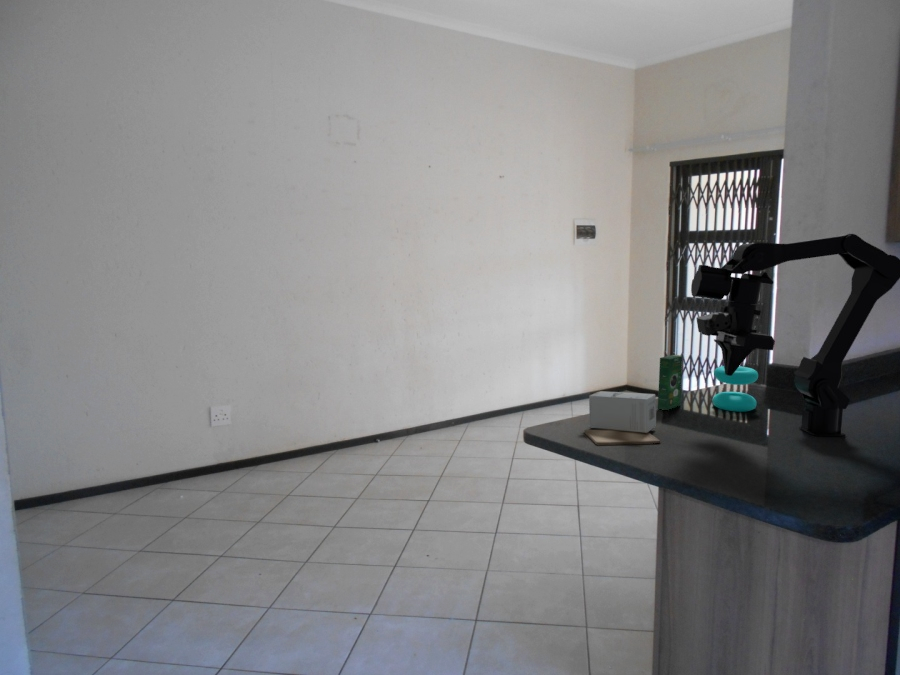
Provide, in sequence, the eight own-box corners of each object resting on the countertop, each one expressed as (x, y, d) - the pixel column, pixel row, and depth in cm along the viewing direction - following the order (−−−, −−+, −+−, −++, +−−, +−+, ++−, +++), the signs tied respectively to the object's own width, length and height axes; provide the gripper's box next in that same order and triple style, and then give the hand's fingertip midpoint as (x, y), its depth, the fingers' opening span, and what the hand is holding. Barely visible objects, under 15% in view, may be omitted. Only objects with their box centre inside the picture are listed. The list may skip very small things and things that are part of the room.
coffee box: (670, 404, 156) (672, 353, 154) (681, 405, 154) (683, 354, 152) (656, 409, 150) (658, 357, 148) (667, 411, 148) (670, 358, 146)
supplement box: (646, 398, 126) (588, 395, 133) (647, 433, 126) (589, 428, 133) (656, 393, 132) (599, 390, 139) (656, 426, 132) (600, 422, 139)
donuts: (720, 371, 146) (709, 364, 156) (718, 412, 147) (707, 402, 157) (765, 372, 145) (750, 365, 154) (762, 413, 146) (748, 403, 156)
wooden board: (643, 431, 131) (643, 428, 131) (660, 443, 123) (660, 440, 122) (584, 432, 131) (584, 430, 131) (597, 445, 122) (597, 442, 122)
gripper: (685, 294, 136) (673, 362, 138) (729, 302, 118) (714, 380, 120) (733, 300, 137) (719, 368, 139) (783, 309, 119) (767, 386, 121)
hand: (728, 375), depth 130 cm, fingers closed
